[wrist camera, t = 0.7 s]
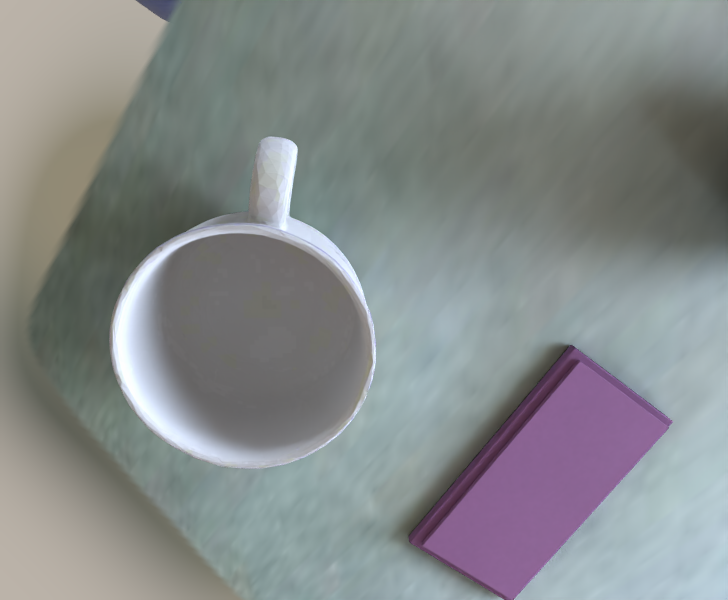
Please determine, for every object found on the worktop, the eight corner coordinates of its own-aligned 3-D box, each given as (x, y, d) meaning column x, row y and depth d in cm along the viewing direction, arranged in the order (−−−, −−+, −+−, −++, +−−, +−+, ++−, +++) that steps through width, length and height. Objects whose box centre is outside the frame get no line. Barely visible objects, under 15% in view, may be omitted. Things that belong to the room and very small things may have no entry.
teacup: (318, 420, 35) (322, 502, 28) (125, 359, 33) (73, 430, 26) (414, 185, 32) (448, 205, 25) (208, 102, 30) (176, 97, 23)
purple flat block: (407, 536, 38) (410, 546, 37) (570, 344, 36) (577, 349, 35) (506, 596, 40) (511, 606, 39) (667, 417, 37) (676, 424, 37)
